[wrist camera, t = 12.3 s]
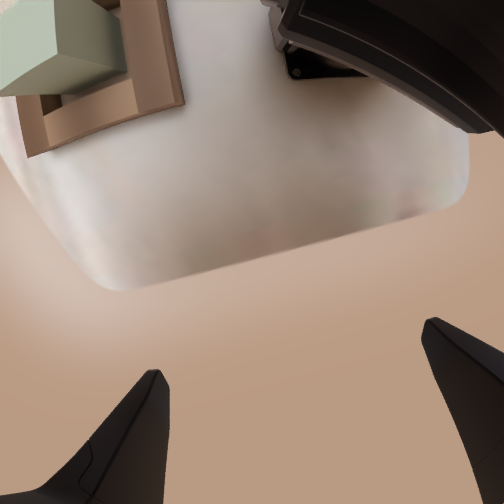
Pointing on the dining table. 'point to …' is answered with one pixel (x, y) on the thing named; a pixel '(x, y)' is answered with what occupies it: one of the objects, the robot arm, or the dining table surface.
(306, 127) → the dining table surface
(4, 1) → the dining table surface
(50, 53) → the peg
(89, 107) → the socket block
